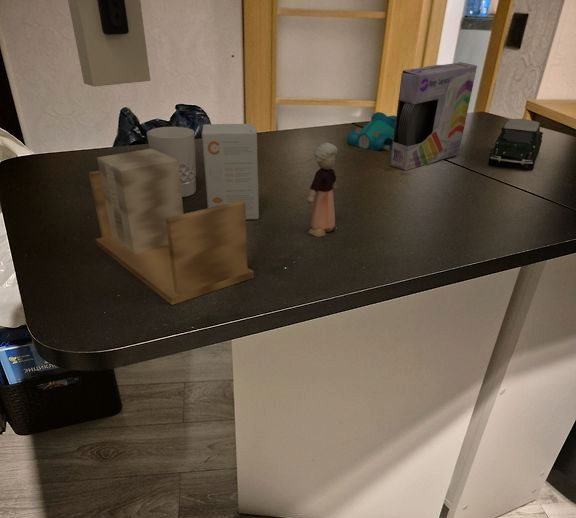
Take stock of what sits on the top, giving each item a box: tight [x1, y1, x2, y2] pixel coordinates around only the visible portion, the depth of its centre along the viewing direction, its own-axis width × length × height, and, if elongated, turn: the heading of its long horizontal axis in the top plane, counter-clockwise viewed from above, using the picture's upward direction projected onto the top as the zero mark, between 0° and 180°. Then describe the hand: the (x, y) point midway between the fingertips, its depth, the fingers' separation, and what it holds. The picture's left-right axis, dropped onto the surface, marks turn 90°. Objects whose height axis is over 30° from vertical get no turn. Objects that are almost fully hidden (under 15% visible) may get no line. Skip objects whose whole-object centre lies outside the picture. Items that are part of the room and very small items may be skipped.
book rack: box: [88, 148, 255, 306], centre depth 70 cm, size 12×22×12 cm, turn 39°
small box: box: [201, 123, 260, 220], centre depth 84 cm, size 8×6×13 cm
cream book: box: [67, 0, 151, 87], centre depth 68 cm, size 8×3×11 cm, turn 130°
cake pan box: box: [389, 61, 478, 171], centre depth 110 cm, size 19×5×18 cm, turn 129°
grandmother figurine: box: [306, 142, 338, 238], centre depth 79 cm, size 8×4×13 cm, turn 158°
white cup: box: [146, 126, 197, 198], centre depth 94 cm, size 8×8×10 cm
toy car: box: [346, 111, 397, 152], centre depth 126 cm, size 11×18×7 cm, turn 137°
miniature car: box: [487, 118, 544, 171], centre depth 115 cm, size 9×18×8 cm, turn 155°
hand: (109, 31), depth 67 cm, fingers closed on cream book, 3 cm apart
